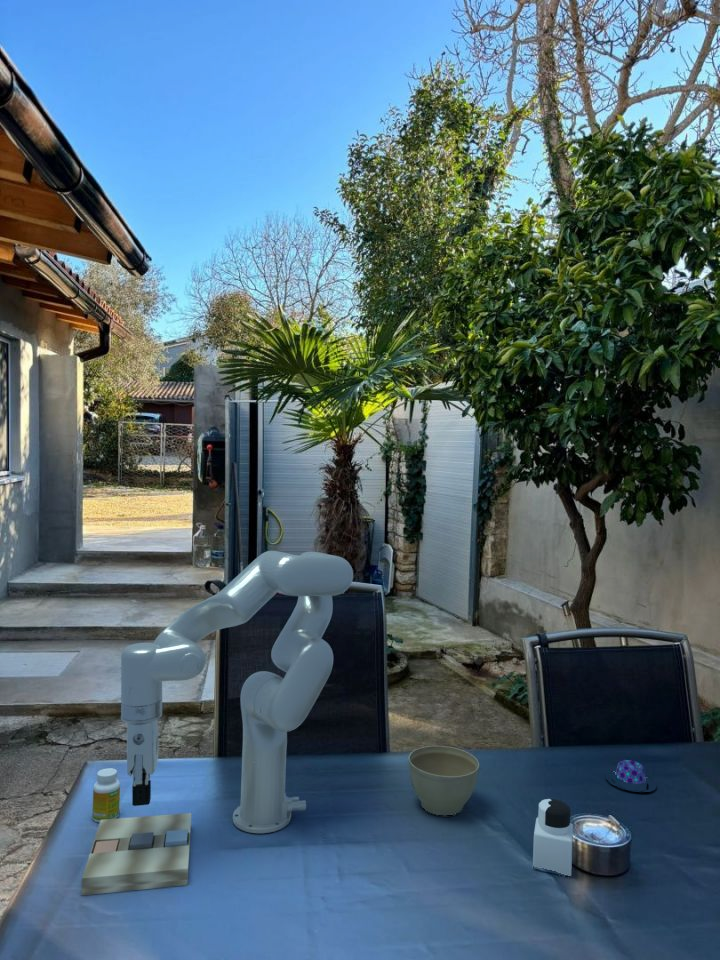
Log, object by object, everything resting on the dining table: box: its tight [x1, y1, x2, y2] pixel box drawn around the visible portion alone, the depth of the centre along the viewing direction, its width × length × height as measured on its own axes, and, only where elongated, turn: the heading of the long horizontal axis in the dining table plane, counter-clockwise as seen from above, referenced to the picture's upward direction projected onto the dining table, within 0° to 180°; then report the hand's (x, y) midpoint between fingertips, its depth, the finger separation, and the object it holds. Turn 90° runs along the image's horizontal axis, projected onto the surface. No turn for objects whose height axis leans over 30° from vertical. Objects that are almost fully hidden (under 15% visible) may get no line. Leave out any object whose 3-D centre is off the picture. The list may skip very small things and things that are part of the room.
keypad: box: [80, 812, 192, 896], centre depth 126 cm, size 18×20×3 cm
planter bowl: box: [408, 745, 480, 816], centre depth 150 cm, size 16×16×11 cm
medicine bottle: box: [532, 798, 574, 877], centre depth 129 cm, size 7×7×12 cm
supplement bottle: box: [91, 767, 121, 824], centre depth 141 cm, size 5×5×10 cm
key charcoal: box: [130, 832, 154, 850], centre depth 126 cm, size 4×4×2 cm
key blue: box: [165, 829, 188, 847], centre depth 128 cm, size 4×4×2 cm
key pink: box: [93, 840, 119, 853], centre depth 125 cm, size 4×4×2 cm
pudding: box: [614, 759, 647, 784], centre depth 166 cm, size 12×12×5 cm
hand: (141, 803), depth 127 cm, fingers closed
